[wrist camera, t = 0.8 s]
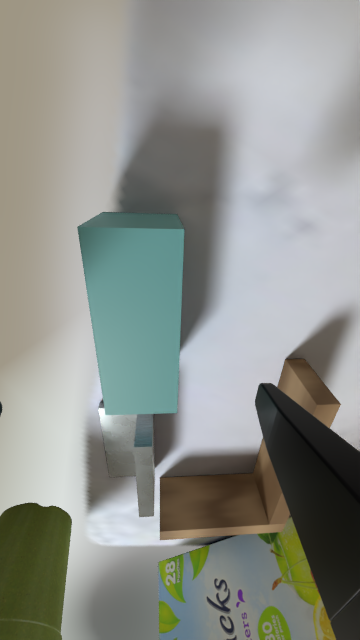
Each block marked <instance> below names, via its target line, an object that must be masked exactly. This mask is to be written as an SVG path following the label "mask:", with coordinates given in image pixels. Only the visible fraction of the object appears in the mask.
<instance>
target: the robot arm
mask: <svg viewBox="0 0 360 640" xmlns="http://www.w3.org/2000/svg"><path fill="white" fill-rule="evenodd" d="M255 406H256V410H257V414H258V418H259V422H260V426H261V430H262V434H263V438H264V442H265V446H266V449H267V452H268V455H269V458H270V460H271V463H272V466H273V468H274V471H275V474H276V477H277V479H278V482H279V485H280V488H281V490H282V493H283V496H284V498H285V501H286V504H287V507H288V509H289V512H290V515H291V517H292V520H293V523H294V526H295V528H296V531H297V534H298V537H299V539H300V542H301V545H302V547H303V550H304V553H305V556H306V558H307V561H308V564H309V567H310V569H311V572H312V575H313V577H314V580H315V583H316V586H317V588H318V591H319V594H320V597H321V599H322V602H323V605H324V607H325V610H326V613H327V616H328V618H329V620H330V621H331V622H330V624H331V627H332V630H333V632H334V635H335V638H336V640H360V452H359V451H358V450H357V449H355V448H354V447H353V446H352V445H350V444H349V443H348V442H346V441H345V440H344V439H343V438H341V437H340V436H339V435H337V434H336V433H335V432H334V431H332V430H331V429H330V428H329V427H327V426H326V425H325V424H323V423H322V422H321V421H320V420H318V419H317V418H316V417H314V416H313V415H312V414H311V413H309V412H308V411H307V410H305V409H304V408H303V407H302V406H300V405H299V404H298V403H297V402H295V401H294V400H293V399H291V398H290V397H289V396H288V395H286V394H285V393H284V392H282V391H281V390H280V389H279V388H277V387H276V386H275V385H273V384H272V383H261V384H260V385H259V387H258V391H257V395H256V399H255ZM1 413H2V404H1V402H0V415H1Z"/></svg>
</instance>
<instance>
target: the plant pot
mask: <svg viewBox="0 0 360 640" xmlns="http://www.w3.org/2000/svg"><path fill="white" fill-rule="evenodd" d="M71 525H72V520H71V517H70V516H69V514H68V513H67V512H65V511H64V510H62V509H61V508H59V507H56V506H49V507H43V506H40V505H38V504H37V503H25V504H20V505H16V506H13V507H11V508H9V509H7V510H5V511H4V512H3V513H2V515H1V516H0V640H62V636H61V633H60V632H61V623H62V611H63V601H64V593H65V582H66V574H67V565H68V555H69V546H70V536H71Z"/></svg>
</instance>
